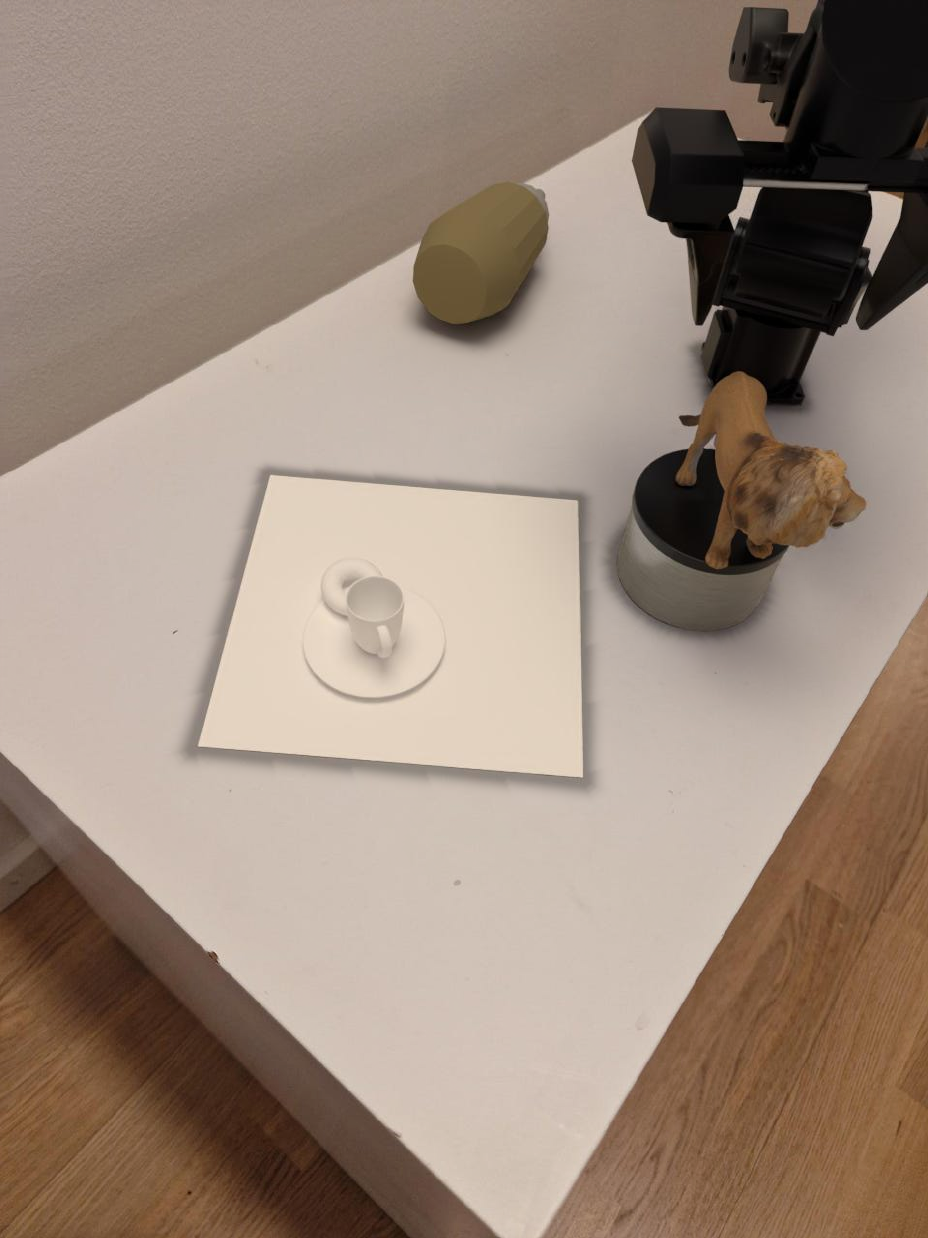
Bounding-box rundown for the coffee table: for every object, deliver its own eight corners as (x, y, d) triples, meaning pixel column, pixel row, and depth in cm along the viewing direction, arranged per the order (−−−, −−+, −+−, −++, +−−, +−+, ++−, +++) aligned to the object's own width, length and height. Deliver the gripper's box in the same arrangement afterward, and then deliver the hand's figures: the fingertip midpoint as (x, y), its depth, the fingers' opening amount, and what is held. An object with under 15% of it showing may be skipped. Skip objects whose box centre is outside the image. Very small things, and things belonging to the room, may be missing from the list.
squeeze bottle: (481, 358, 69) (564, 260, 81) (514, 263, 63) (599, 171, 74) (387, 307, 70) (483, 217, 81) (411, 208, 63) (511, 125, 75)
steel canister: (747, 518, 60) (776, 448, 55) (780, 633, 55) (817, 567, 50) (606, 516, 59) (624, 445, 55) (626, 632, 54) (648, 565, 49)
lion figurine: (826, 607, 48) (900, 482, 41) (731, 623, 47) (791, 498, 40) (716, 419, 57) (762, 289, 49) (634, 429, 56) (668, 298, 48)
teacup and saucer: (317, 571, 55) (312, 525, 52) (450, 582, 55) (453, 536, 52) (292, 696, 50) (284, 652, 47) (439, 708, 50) (442, 665, 47)
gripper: (1038, -57, 44) (897, 246, 56) (650, -78, 43) (594, 237, 55) (1150, 43, 37) (962, 362, 50) (694, 21, 36) (619, 354, 49)
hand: (779, 323), depth 51 cm, fingers open, 9 cm apart
